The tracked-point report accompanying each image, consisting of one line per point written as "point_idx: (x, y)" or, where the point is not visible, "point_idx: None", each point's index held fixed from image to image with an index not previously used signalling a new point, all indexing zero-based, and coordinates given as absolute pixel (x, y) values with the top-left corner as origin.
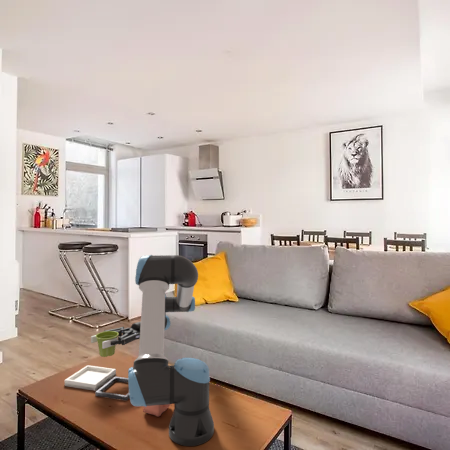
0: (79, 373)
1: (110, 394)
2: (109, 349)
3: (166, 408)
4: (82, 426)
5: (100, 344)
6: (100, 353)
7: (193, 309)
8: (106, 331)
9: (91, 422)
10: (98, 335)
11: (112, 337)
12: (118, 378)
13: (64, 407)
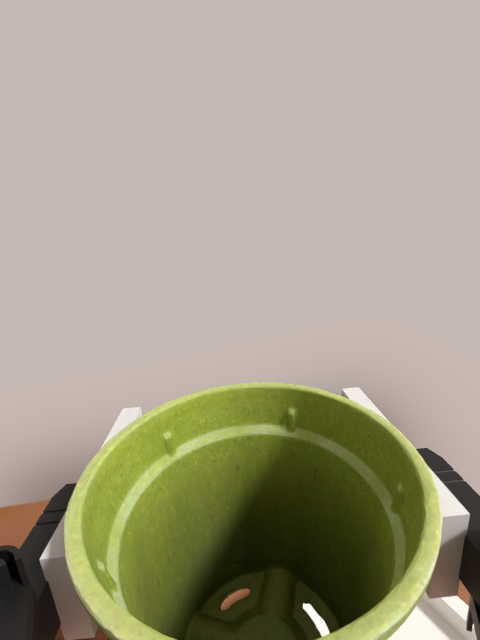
0: (463, 628)
1: None
2: (161, 578)
3: None
4: (40, 501)
5: (224, 461)
6: (249, 547)
7: None
8: (430, 496)
9: (21, 527)
10: (350, 424)
11: (91, 470)
12: None
13: None
